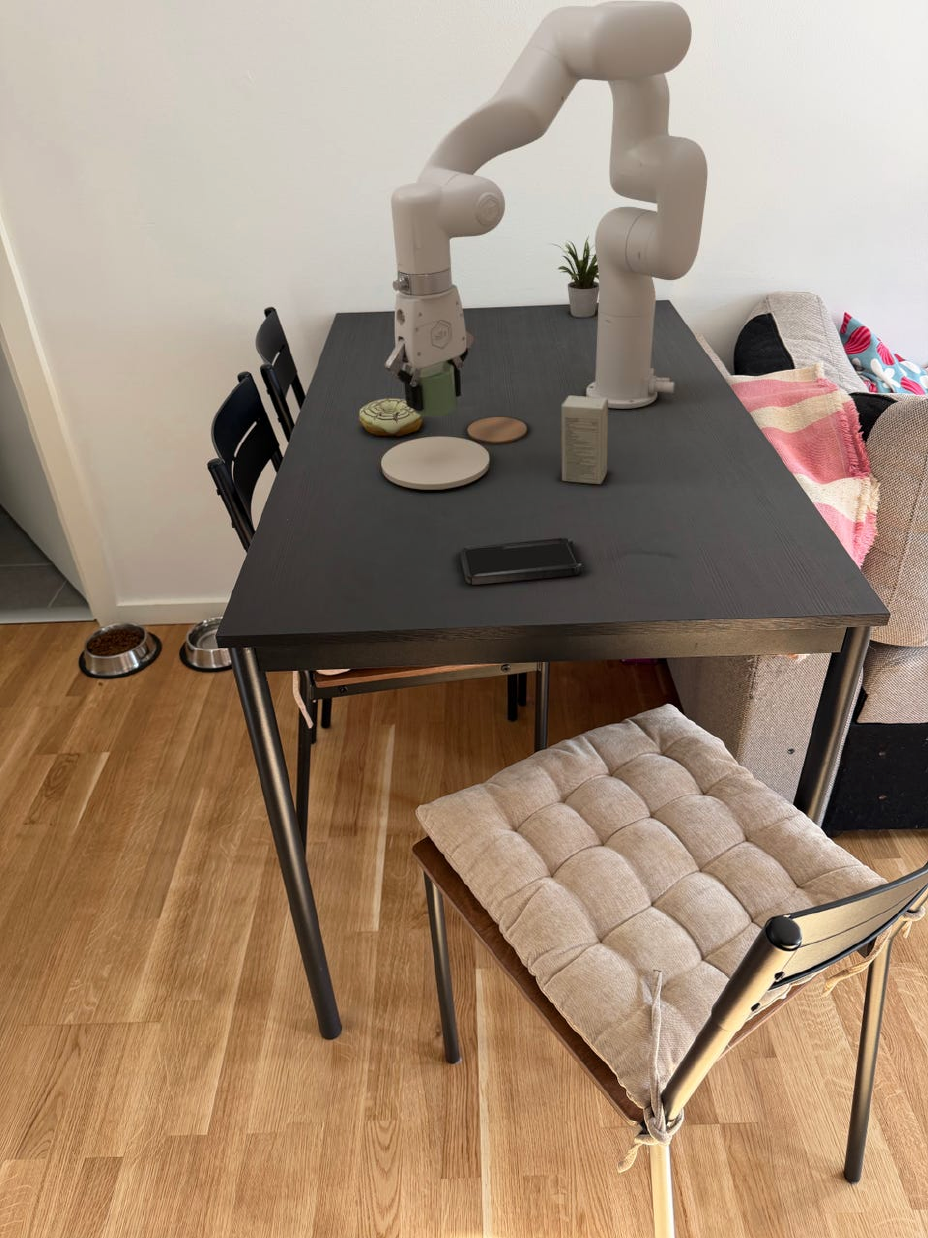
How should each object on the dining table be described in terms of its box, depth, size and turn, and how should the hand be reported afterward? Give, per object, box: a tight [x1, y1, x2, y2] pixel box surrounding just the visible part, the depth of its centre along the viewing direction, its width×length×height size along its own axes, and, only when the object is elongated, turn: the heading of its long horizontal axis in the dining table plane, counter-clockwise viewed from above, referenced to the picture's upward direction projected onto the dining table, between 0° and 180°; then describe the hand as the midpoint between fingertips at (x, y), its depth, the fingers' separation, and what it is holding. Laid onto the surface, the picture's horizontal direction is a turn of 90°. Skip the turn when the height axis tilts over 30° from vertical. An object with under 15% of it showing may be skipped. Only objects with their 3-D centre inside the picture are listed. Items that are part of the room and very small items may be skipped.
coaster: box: [467, 416, 528, 444], centre depth 160 cm, size 10×10×1 cm
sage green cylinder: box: [410, 362, 457, 417], centre depth 142 cm, size 7×7×6 cm
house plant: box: [547, 235, 599, 318], centre depth 205 cm, size 14×14×16 cm
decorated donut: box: [359, 397, 424, 437], centre depth 162 cm, size 10×11×4 cm
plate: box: [380, 436, 491, 491], centre depth 149 cm, size 17×17×2 cm
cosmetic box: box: [560, 394, 609, 485], centre depth 141 cm, size 6×4×12 cm
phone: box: [460, 537, 582, 586], centre depth 124 cm, size 8×1×15 cm
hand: (434, 400), depth 143 cm, fingers closed on sage green cylinder, 6 cm apart
